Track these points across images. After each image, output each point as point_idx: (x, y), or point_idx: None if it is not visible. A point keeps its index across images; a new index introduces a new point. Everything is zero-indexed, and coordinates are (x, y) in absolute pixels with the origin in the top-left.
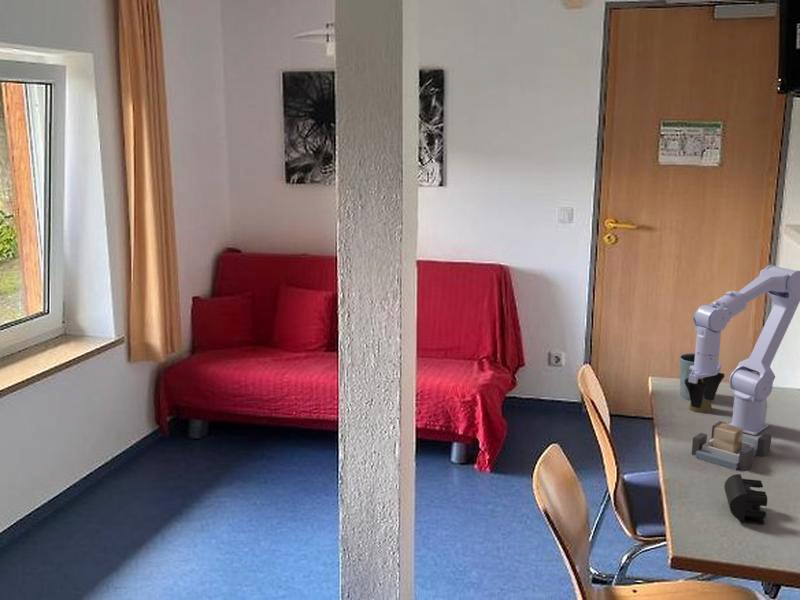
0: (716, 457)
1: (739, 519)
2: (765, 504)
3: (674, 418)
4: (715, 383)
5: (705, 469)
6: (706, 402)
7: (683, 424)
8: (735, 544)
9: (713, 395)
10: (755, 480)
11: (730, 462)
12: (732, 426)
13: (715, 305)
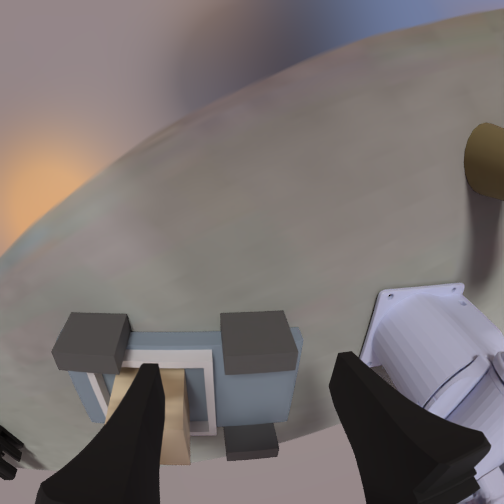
0: (79, 387)
1: None
2: None
3: (371, 104)
4: (366, 478)
5: (34, 366)
6: (498, 194)
7: (330, 159)
8: None
9: (339, 413)
10: (2, 475)
11: (87, 412)
12: (175, 450)
13: None
